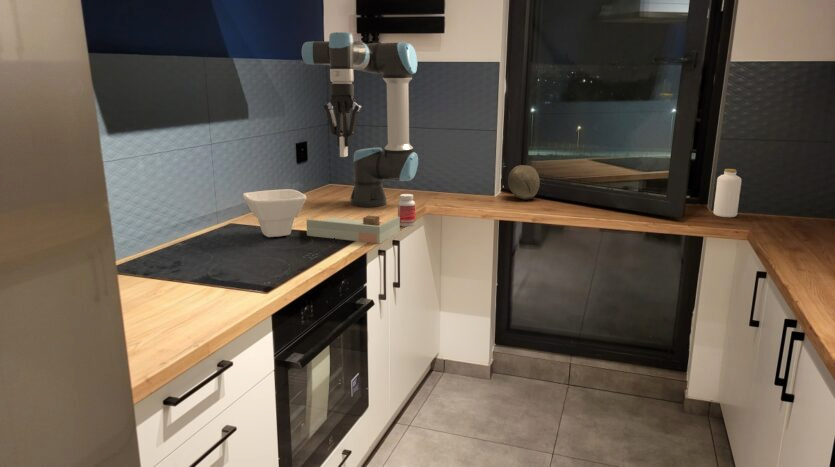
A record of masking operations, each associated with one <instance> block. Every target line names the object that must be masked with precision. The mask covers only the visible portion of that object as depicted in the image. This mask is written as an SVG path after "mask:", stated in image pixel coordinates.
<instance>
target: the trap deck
mask: <svg viewBox="0 0 835 467" xmlns="http://www.w3.org/2000/svg"><path fill="white" fill-rule="evenodd" d="M379 222H380V225H379V226H374V225H364V224H363V219H362V220H361V219H351V218H341V217H331V216H330V217H328V218H325V219H312V218H307V219H306V236H308V237H318V238H327V239H334V238H335V239H336V240H345V241H355V242H360V243H361V242H364V243H372V244H382V243H383V242H385V241H387V240H388V239H390V238H392V237H394V236H396V235H397V234H399V233H400V232H401V231H400V228H401V226H400V217H398V216H395V217H393V218H391V219H388V221H385V222H384V221H379Z"/></svg>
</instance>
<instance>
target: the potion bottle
mask: <svg viewBox="0 0 835 467" xmlns="http://www.w3.org/2000/svg"><path fill="white" fill-rule="evenodd" d="M723 173H724V174H720V175H719V176H718V177H717V179H716V189H715V196H714V203H713V204H714V205H713V214H714V216H716V217H721V218H735V217H736V216H737V215H738V210H739V203H740V202H739V201H740V194H741V188H742V178H741V177H740V176H738V175H737V169H735V168H724V171H723Z"/></svg>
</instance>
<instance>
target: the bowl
mask: <svg viewBox="0 0 835 467" xmlns="http://www.w3.org/2000/svg"><path fill="white" fill-rule="evenodd" d="M242 198H243V199H244V201H245V203H246V204H247V206H248V208H249V210H250V211H251V213H252V215H253V216H254V217H255V218H256V219H257V221H258V223H259V227H260V230H261V232H262V233H261V234H263V235H264V236H265V237H267V238H274V237H283V236H285V237H286V236H289V235H291V233H292V228H293V225H294V220H295V218H297V217H298V216H299V214H300V213H301V211H302V209H303V207H304V205H305V202H306V201H307V195H306V194H304V193H302V192H300V191H299V190H296V189H292V188H291V189H290V188H287V189H286V188H285V189H284V188H282V189H272V190H271V189H268V190H267V189H266V190H260V191H259V190H258V191H250V192H249V191H248V192H243V194H242Z"/></svg>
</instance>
